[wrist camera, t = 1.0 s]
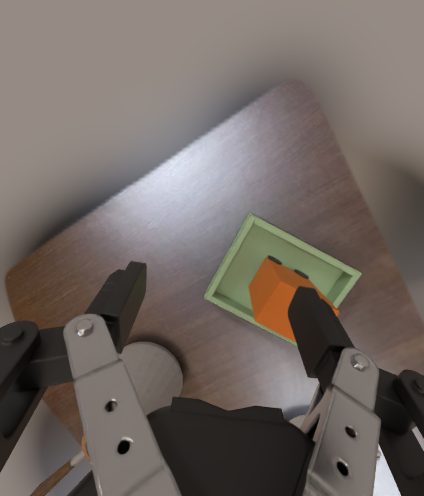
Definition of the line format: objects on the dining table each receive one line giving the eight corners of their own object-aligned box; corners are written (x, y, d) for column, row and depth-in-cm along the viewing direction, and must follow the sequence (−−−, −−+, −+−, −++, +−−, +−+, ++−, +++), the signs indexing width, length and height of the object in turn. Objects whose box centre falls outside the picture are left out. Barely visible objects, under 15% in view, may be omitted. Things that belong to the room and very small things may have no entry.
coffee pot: (155, 318, 35) (101, 404, 21) (201, 374, 37) (181, 491, 22) (60, 383, 39) (-41, 493, 25) (105, 431, 41) (34, 561, 26)
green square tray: (205, 290, 34) (203, 298, 31) (249, 212, 31) (250, 214, 28) (300, 339, 34) (306, 351, 31) (351, 267, 31) (362, 273, 29)
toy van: (246, 286, 32) (253, 323, 23) (266, 252, 31) (282, 277, 21) (288, 308, 33) (312, 354, 23) (309, 276, 31) (345, 311, 22)
